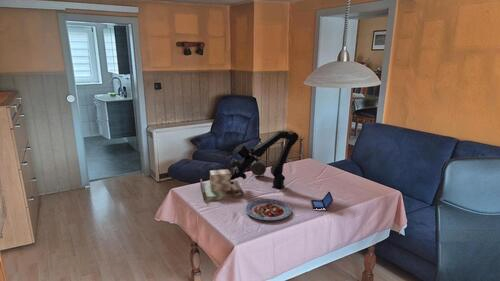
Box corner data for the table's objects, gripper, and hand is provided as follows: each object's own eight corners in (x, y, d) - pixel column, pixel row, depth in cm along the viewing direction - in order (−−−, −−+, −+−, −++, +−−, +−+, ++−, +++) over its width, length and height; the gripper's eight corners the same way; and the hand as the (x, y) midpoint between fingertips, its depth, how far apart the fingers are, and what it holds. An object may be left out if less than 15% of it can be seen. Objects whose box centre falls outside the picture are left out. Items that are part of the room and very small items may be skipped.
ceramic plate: (272, 198, 199) (273, 194, 198) (300, 215, 178) (301, 210, 177) (236, 208, 185) (236, 203, 184) (262, 228, 164) (262, 223, 163)
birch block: (228, 185, 211) (228, 169, 209) (230, 190, 204) (230, 173, 201) (210, 186, 209) (209, 170, 206) (211, 191, 201) (211, 174, 198)
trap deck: (237, 183, 220) (237, 176, 219) (244, 197, 200) (244, 188, 198) (200, 186, 214) (200, 179, 213) (203, 200, 194) (203, 192, 192)
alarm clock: (266, 175, 237) (266, 154, 233) (265, 178, 232) (266, 156, 228) (251, 174, 238) (251, 153, 234) (250, 177, 233) (250, 155, 229)
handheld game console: (310, 201, 196) (311, 190, 194) (328, 202, 195) (329, 190, 193) (313, 210, 184) (314, 198, 182) (332, 211, 183) (333, 199, 181)
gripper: (235, 150, 212) (218, 167, 212) (241, 158, 195) (223, 177, 195) (246, 161, 216) (230, 177, 216) (253, 170, 198) (236, 188, 199)
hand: (229, 179), depth 206 cm, fingers closed, pressing on birch block
